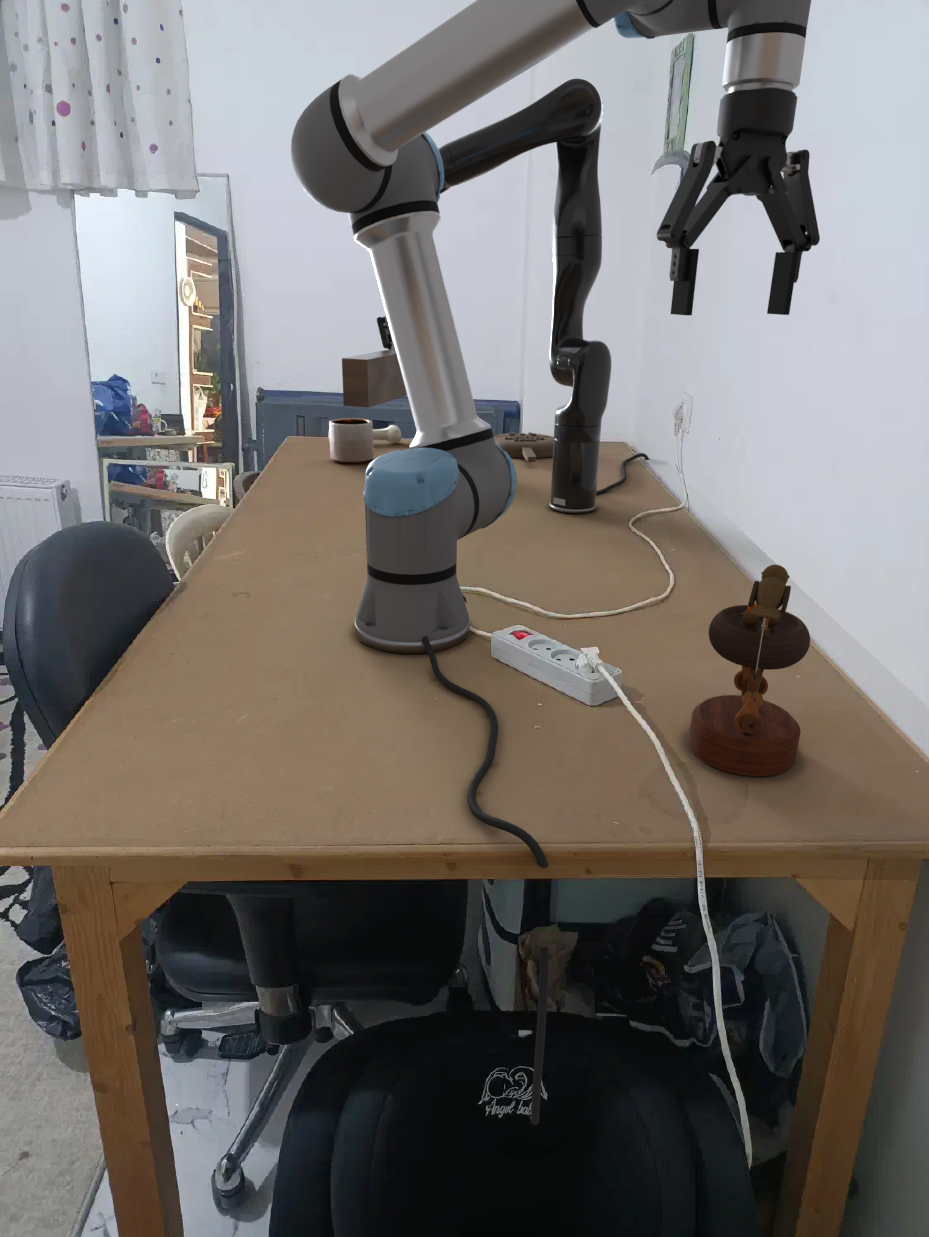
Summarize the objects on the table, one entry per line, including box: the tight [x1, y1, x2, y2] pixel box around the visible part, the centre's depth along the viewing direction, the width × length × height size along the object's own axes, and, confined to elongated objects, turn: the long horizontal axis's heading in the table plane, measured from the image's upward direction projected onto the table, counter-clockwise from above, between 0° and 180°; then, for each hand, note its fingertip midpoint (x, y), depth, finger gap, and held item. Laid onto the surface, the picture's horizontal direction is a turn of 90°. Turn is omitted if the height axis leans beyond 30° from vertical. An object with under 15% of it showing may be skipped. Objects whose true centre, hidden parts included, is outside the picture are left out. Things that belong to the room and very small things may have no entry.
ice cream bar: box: [493, 431, 554, 463], centre depth 221 cm, size 21×28×4 cm
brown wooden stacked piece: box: [688, 564, 811, 777], centre depth 83 cm, size 15×11×20 cm
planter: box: [328, 417, 375, 464], centre depth 212 cm, size 11×11×10 cm
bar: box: [341, 349, 408, 409], centre depth 157 cm, size 28×5×8 cm, turn 160°
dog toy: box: [327, 424, 402, 444], centre depth 234 cm, size 20×6×5 cm, turn 99°
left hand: (730, 315), depth 94 cm, fingers open, 13 cm apart
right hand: (411, 372), depth 167 cm, fingers closed on bar, 4 cm apart
